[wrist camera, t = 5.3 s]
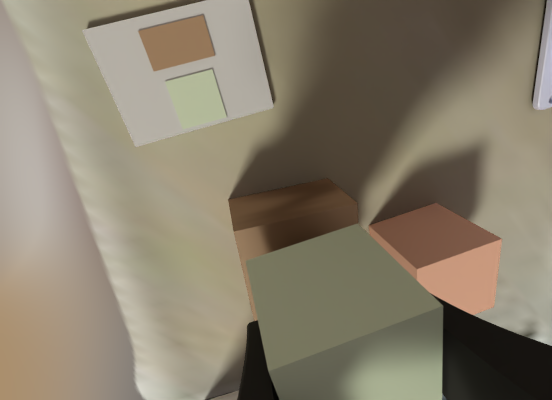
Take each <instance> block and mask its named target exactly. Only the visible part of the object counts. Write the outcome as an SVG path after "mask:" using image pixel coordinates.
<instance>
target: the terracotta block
mask: <svg viewBox="0 0 552 400" xmlns="http://www.w3.org/2000/svg"><path fill="white" fill-rule="evenodd" d="M369 231H370V236H371V237H372V238H373V239H374V240H375V241H376V242H377V243H379V244H380V245H381V246H382V247H383V248H384V249H385V250H386V251H387V252H388V253H389V254H390V255H391V256H392V257H393V258H394V259H395V260H396V261H397V262H398V263H399V264H400V265H401V266H402V267H403V268H404V269H405V270H407V271H408V272H409V273H410V274H411V275H412V276H413V277H414V278H415V279H416V280H417V281H418V282H419V283H420V284H421V285H422V286H423V287H424V288H425V289H426V290H427V291H428V292H429V293H431V294H433V295H434V296H436V297H438V298H440V299H442V300H444V301H446V302H447V303H449V304H451V305H453V306H455V307H457V308H459V309H461V310H463V311H465V312H467V313H469V314H471V315H474V314H477V313H479V312H482V311H485V310H487V309H490V308H492V307H494V302H495V293H496V285H497V277H498V268H499V260H500V251H501V243H502V239H501V238H499V237H498V236H496V235H494V234H492V233H490V232H488V231H487V230H485V229H483V228H481V227H479V226H477V225H476V224H474V223H472V222H470V221H468V220H466V219H465V218H463V217H461V216H459V215H457V214H455V213H454V212H452V211H450V210H448V209H446V208H444V207H443V206H441V205H439V204H437V203H434V204H431V205H428V206H425V207H422V208H419V209H416V210H413V211H410V212H407V213H404V214H401V215H398V216H396V217H393V218H390V219H387V220H384V221H381V222H378V223H375V224H372V225H369Z"/></svg>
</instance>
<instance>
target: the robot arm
mask: <svg viewBox="0 0 552 400" xmlns="http://www.w3.org/2000/svg"><path fill="white" fill-rule="evenodd" d="M533 107H534V108H535V109H538V110H544V109H547V108H550V107H552V0H547V4H546V11H545V19H544V26H543V33H542V40H541V47H540V54H539V62H538V69H537V76H536V83H535V90H534V98H533ZM430 294H431V293H430ZM431 295H432V296H434V295H433V294H431ZM434 297H435V298H436V299H437V300H438V301H439V302H440V303H441V304H442V305H443V357H442V393H443V395H444V396H445V397H446V399H447V400H552V346H550V345H547V344H544V343H541V342H538V341H536V340H533V339H530V338H527V337H524V336H522V335H519V334H516V333H514V332H511V331H508V330H506V329H504V328H501V327H499V326H496V325H494V324H492V323H489V322H487V321H485V320H482V319H480V318H478V317H476V316H474V315H471V314H469V313H467V312H465V311H463V310H461V309H459V308H457V307H455V306H453V305H451V304H449V303H447V302H446V301H444V300H442V299H440V298H438V297H436V296H434ZM237 400H279V397H278V395H277V392H276V390H275V387H274V384H273V382H272V379H271V377H270V374H269V372H268V367H267V362H266V357H265V352H264V348H263V343H262V338H261V333H260V328H259V323H258V320H256V321H254V322H251V323H249V324H248V326H247V344H246V353H245V361H244V367H243V373H242V379H241V384H240V389H239V393H238V398H237Z"/></svg>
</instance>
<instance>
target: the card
mask: <svg viewBox="0 0 552 400" xmlns="http://www.w3.org/2000/svg"><path fill="white" fill-rule="evenodd" d="M82 32H83V34H84V36H85V38H86V40H87V42H88V45H89V47H90V49H91V51H92V53H93V55H94V58H95V60H96V62H97V64H98V66H99V69H100V71H101V73H102V75H103V77H104V79H105V82H106V84H107V86H108V88H109V90H110V92H111V95H112V97H113V99H114V101H115V103H116V105H117V108H118V110H119V112H120V114H121V116H122V118H123V121H124V123H125V125H126V127H127V129H128V132H129V134H130V136H131V138H132V140H133V142H134V145H135V147H138V146H141V145H145V144H148V143H152V142H155V141H159V140H162V139H166V138H169V137H173V136H176V135H180V134H183V133H187V132H190V131H194V130H197V129H201V128H204V127H208V126H211V125H215V124H219V123H222V122H226V121H229V120H233V119H236V118H240V117H243V116H247V115H250V114H254V113H257V112H261V111H264V110H268V109H271V108H274V106H273V102H272V97H271V93H270V89H269V85H268V80H267V76H266V72H265V67H264V63H263V59H262V55H261V50H260V46H259V42H258V38H257V33H256V29H255V25H254V21H253V16H252V12H251V8H250V3H249V0H206V1H201V2H197V3H193V4H189V5H185V6H181V7H176V8H172V9H168V10H164V11H160V12H156V13H151V14H147V15H143V16H139V17H135V18H131V19H126V20H122V21H118V22H114V23H110V24H105V25H101V26H97V27H93V28H89V29H85V30H82Z"/></svg>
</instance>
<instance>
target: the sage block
mask: <svg viewBox="0 0 552 400" xmlns="http://www.w3.org/2000/svg"><path fill="white" fill-rule="evenodd" d="M246 266H247V270H248V275H249V280H250V285H251V290H252V295H253V299H254V304H255V309H256V314H257V319H258V323H259V328H260V333H261V338H262V343H263V348H264V352H265V357H266V362H267V367H268V372H269V374H270V377H271V379H272V382H273V384H274V387H275V390H276V392H277V395H278V397H279V400H442V357H443V305H442V304H441V303H440V302H439V301H438V300H437V299H436V298H435V297H434V296H432V295H431V294H430V293H429V292H428V291H427V290H426V289H425V288H424V287H423V286H422V285H421V284H420V283H419V282H418V281H417V280H416V279H415V278H414V277H413V276H412V275H411V274H410V273H409V272H408V271H407V270H405V269H404V268H403V267H402V266H401V265H400V264H399V263H398V262H397V261H396V260H395V259H394V258H393V257H392V256H391V255H390V254H389V253H388V252H387V251H386V250H385V249H384V248H383V247H382V246H381V245H380V244H379V243H377V242H376V241H375V240H374V239H373V238H372V237H371V236H370V235H369V234H368V233H367V232H366V231H365V230H364V229H363V228H362V227H361V226H360V225H359V224H358V223H357V224H354V225H351V226H348V227H345V228H342V229H339V230H336V231H333V232H330V233H327V234H324V235H321V236H318V237H315V238H312V239H309V240H306V241H303V242H300V243H297V244H294V245H291V246H288V247H285V248H282V249H279V250H276V251H273V252H270V253H267V254H264V255H261V256H258V257H255V258H252V259H249V260H246Z"/></svg>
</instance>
